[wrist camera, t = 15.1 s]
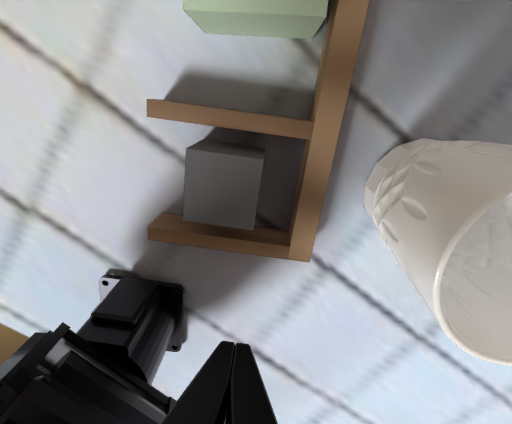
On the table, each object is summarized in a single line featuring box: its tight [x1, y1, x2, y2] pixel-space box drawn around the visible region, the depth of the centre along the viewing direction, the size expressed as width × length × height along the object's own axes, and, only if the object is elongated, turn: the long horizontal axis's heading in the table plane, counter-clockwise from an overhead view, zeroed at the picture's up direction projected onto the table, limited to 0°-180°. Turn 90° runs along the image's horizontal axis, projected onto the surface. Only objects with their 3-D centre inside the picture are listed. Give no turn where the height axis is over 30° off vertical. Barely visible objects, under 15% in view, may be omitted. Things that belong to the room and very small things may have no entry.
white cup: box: [364, 138, 512, 366], centre depth 14 cm, size 8×8×10 cm
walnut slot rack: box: [147, 0, 370, 262], centre depth 15 cm, size 21×10×2 cm, turn 172°
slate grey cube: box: [183, 140, 265, 231], centre depth 17 cm, size 4×4×4 cm
